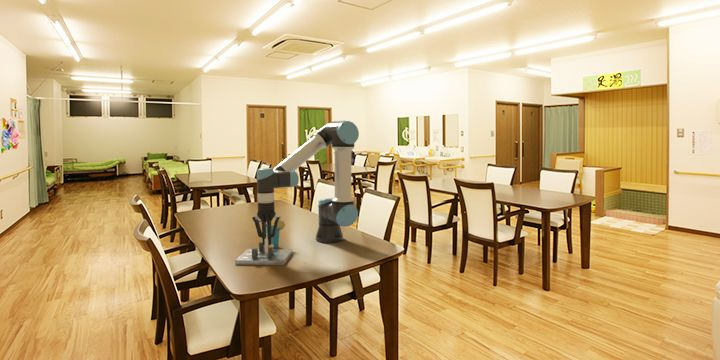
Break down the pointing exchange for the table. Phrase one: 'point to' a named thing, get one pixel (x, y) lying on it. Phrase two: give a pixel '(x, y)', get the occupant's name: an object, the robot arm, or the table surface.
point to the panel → (263, 256)
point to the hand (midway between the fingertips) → (267, 251)
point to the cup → (276, 238)
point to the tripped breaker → (270, 249)
